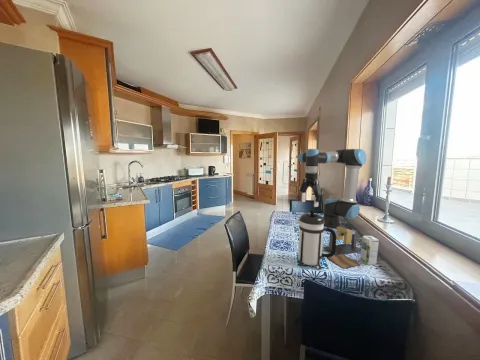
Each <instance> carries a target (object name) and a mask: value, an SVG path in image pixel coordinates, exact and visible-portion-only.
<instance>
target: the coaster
mask: <svg viewBox="0 0 480 360" xmlns="http://www.w3.org/2000/svg"><path fill="white" fill-rule="evenodd" d="M326 259H327V260H329V261H330V262H331V263H334V264H335V265H336V266H338V267H339V266H340V267H339V268H341V269H342V268H343V270H345V269H349V268H350V269H351V268H353V267H354V268H355V267H359V266H361V263H360V262H357V261H355V260H353V259H352V258H351V257H349V256H346V254H345V255H343V254H340V255H333V256H332V257H326Z"/></svg>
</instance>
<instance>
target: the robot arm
mask: <svg viewBox="0 0 480 360" xmlns="http://www.w3.org/2000/svg"><path fill="white" fill-rule="evenodd" d="M297 158H298V161H299V162H300V163H302V164H303V163H304V164H305V173H304V178H303V179H302V183H301V186H300V188H299V191H300V192H301V203H306V200H307V199H306V198H307V190H308V189H309V188H311V189H312V191H313V193H314V196H313V198H314V199H313V200H314V201H313V207H314V208H317V207H319V202H320V197H322V196H323V195H322V191H321V190H322V189H321V186H320V181H319V180H317V179H318V170H319V167H318V166H319V165H318V164H328V163H335V164H344V167H345V168H346V170H345V171H346V172H345V179H344V180H345V181H344V185H343V186H344V187H343V194H342V195H343V196H342V198H341V199H340V198H333V197H331V198H326V199H325V200H324V206H323V216H322V217H323V219H324V220H325V223H324V227H325V226H326V227H325V228H329V227H330V229H337V227H340V226H341V221H340V217H343V218H346V219H350V220H351V219H352V220H353V219H356V218H357V216H358V215H359V213H360V210H361V207H360V205H358V201H357V200H356V197H357V196H356V194H357V191H358V189H357V188H358V181H359V174H360V169H361V168H362V167H363V165H365V164H366V162H367V154H366V151H365V150H364V149H361V148H343V149H337V150H331V151H319V148H307V149H306V152H305V151H303V152H299V154H298V157H297Z"/></svg>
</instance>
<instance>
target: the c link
mask: <svg viewBox="0 0 480 360" xmlns="http://www.w3.org/2000/svg"><path fill="white" fill-rule="evenodd" d="M335 229H336V231H335V232H342V233H344V236H339V237H336V241H341V240H342V241H343V243H342V244H351V239H352V230H353V229H349V228H347V227H344V226H341V225H340V227H337V228H335Z"/></svg>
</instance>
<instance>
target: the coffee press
mask: <svg viewBox="0 0 480 360" xmlns="http://www.w3.org/2000/svg"><path fill="white" fill-rule="evenodd" d="M324 223H325V220H324V219H323V216H322V215H320V214H317V213H316V212H315V210H314V209H311V210H310V211H309V212H306V213H303V214H301V216H300V217H299V219H298V220H297V221H296V224H299V227H298V228H299V236H298V253H297V255H298V256H297V257H298V260H299V263H298V264H297V265H298V266H299V267H303V265H307V266H315V267H316V268H317V270H321V269H322V267H321V262H322V259H323V258H327V257H332V256H335V255H334V254H335V250H336V245H337V239H336V234H335V232H336V231H335V230H333V228H329V227H325V226H324ZM324 231H325V232H329V233H332V236H333V239H332V251H331V252H328V253H323V243H324V242H323V240H324V237H323V236H324Z"/></svg>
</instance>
